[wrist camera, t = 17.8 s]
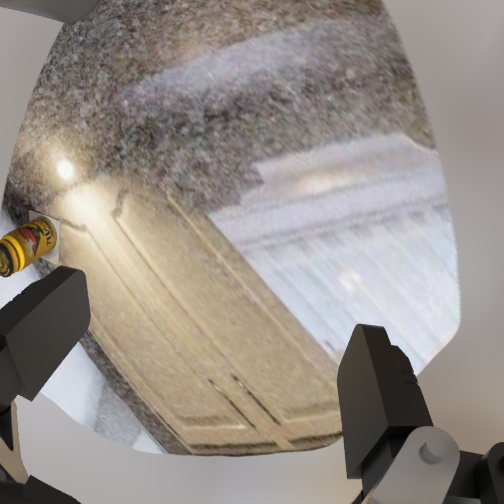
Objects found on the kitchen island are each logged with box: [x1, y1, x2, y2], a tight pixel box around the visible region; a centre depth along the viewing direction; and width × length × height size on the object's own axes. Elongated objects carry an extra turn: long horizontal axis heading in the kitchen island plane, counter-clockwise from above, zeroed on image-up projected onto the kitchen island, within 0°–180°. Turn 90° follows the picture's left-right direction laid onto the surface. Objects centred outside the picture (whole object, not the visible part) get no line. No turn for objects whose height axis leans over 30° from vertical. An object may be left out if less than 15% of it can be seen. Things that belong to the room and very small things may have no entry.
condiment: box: [0, 210, 60, 277], centre depth 42 cm, size 7×8×12 cm
